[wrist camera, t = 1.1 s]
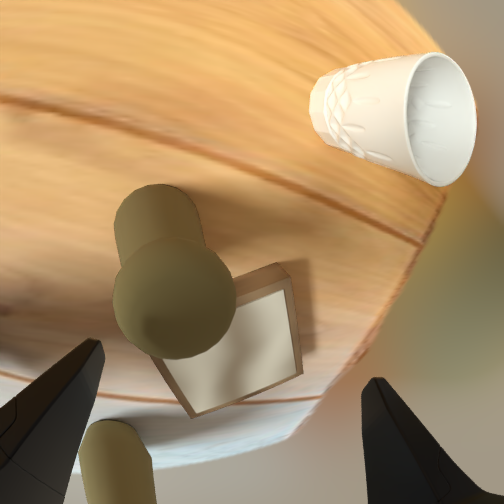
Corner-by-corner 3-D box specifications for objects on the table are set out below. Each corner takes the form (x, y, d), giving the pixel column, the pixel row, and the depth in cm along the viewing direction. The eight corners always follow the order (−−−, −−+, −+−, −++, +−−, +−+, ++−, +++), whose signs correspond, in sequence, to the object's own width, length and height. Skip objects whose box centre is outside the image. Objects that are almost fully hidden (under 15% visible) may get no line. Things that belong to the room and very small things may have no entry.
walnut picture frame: (185, 400, 28) (191, 419, 26) (135, 314, 22) (137, 335, 20) (292, 357, 31) (304, 374, 28) (276, 262, 25) (291, 277, 23)
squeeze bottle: (149, 447, 30) (188, 578, 14) (87, 449, 26) (108, 581, 11) (142, 411, 27) (185, 573, 11) (69, 412, 23) (83, 574, 8)
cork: (216, 222, 22) (286, 307, 12) (161, 282, 22) (189, 397, 12) (154, 165, 18) (174, 212, 9) (96, 233, 19) (71, 337, 9)
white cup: (353, 49, 19) (455, 38, 11) (389, 128, 24) (484, 147, 15) (282, 89, 19) (382, 80, 11) (330, 175, 23) (426, 213, 15)
